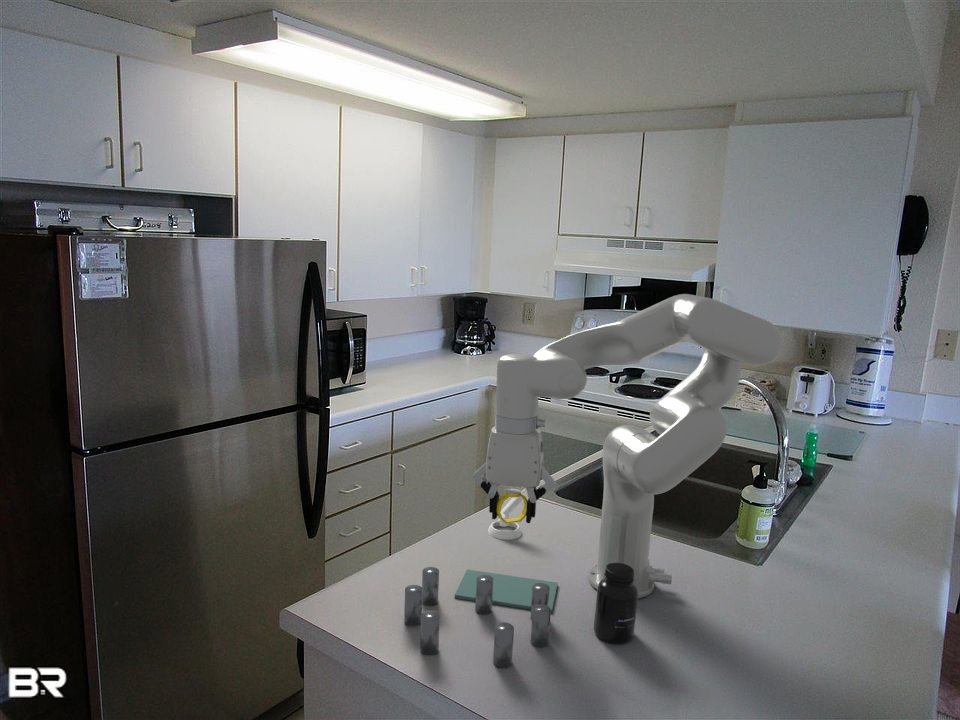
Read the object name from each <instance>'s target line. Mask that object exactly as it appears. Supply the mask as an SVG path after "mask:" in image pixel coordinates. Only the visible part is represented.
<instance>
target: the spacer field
mask: <svg viewBox="0 0 960 720" xmlns="http://www.w3.org/2000/svg"><path fill="white" fill-rule="evenodd" d="M421 575H422V577H421V580H422V581H421V585H418V584H410V585H407V586H406V587H405V588H404V610H403V611H404V614H403V615H404V618H403V619H404V621H403V623H404V624H405V625H407V626H409V627H417V626H419V625H420V638H419V639H420V641H419V651H420V653H421V654H422V655H425V656H434V655H436V654H437V653H438V652H439V650H440V649H439V647H440V624H441V623H440V622H441V621H440V619H441V614H440V613H439V612H438V611H436V610H426V611H423V605H424V606H427V607H429V606H430V607H432V606H436V605H437V604H438V603H439V589H440V587H439V586H440V582H439V581H440V570H439V568H437V567H434V566H427V567H424V568H423V569H422V574H421ZM549 589H550V587H549V586H548V585H547V584H544V583H535V584H534V585H533V586H532V601H531V609H530V617H529V618H530V620H531V627H530V628H531V629H530V630H531V631H530V644H531V645H532V646H534V647H536V648H540V649H541V648H545V647H548V645H549V642H550V641H549V640H550V631H551V629H550V627H551V615H552V613H551V609H550V607H549V606H548V604H549ZM492 598H493V577H491V576H489V575H480V576H478V577H477V581H476V601H474V602H475V604H474V605H475V606H474V611H475V612H476V613H477V614H479V615H489V614H491V613H492V611H493V604H492ZM514 631H515V627H514V625H512V623H509V622H505V621H503V622H501V621H500V622H498V623H496V624H495V625H494V633H493V634H494V635H493V637H494V638H493V655H492V656H493V657H492V664H493V665H494V667H497V668H500V669H507V668H510V667H511V666H512V665H513V650H514V635H515V634H514V633H515V632H514Z"/></svg>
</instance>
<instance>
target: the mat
mask: <svg viewBox="0 0 960 720" xmlns="http://www.w3.org/2000/svg"><path fill="white" fill-rule="evenodd" d="M480 575H489V576H491V577H493V598H492V605H499V606H505V607H512V608H518V609H519V608H520V609H524V610H525V609H526V610H531V601H532V586H533V585H534V584H535V583H544V584H547V585H548V586H549V587H550V589H549V604H548V606H549V607H550V609H551V614H552V613H553V610H554V609H553V607H554V603H555V600H556V594H557V589H558V584H559V583H558V582H557V581H556V582H555V581H548V580H544V579H543V580H542V579H536V578H530V577H529V578H528V577H523V576H515V575H508V574H501V573H500V574H499V573H494V572H487V571H480V570H475V569H474V570H473V569H468V568H467V569H466V571H465V573H464V574H463V577H462V579H461V580H460V582H459V585H458V587H457V589H456V591H455V594H454V599H461V600H467V601H474V602H476V581H477V577H478V576H480Z"/></svg>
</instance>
